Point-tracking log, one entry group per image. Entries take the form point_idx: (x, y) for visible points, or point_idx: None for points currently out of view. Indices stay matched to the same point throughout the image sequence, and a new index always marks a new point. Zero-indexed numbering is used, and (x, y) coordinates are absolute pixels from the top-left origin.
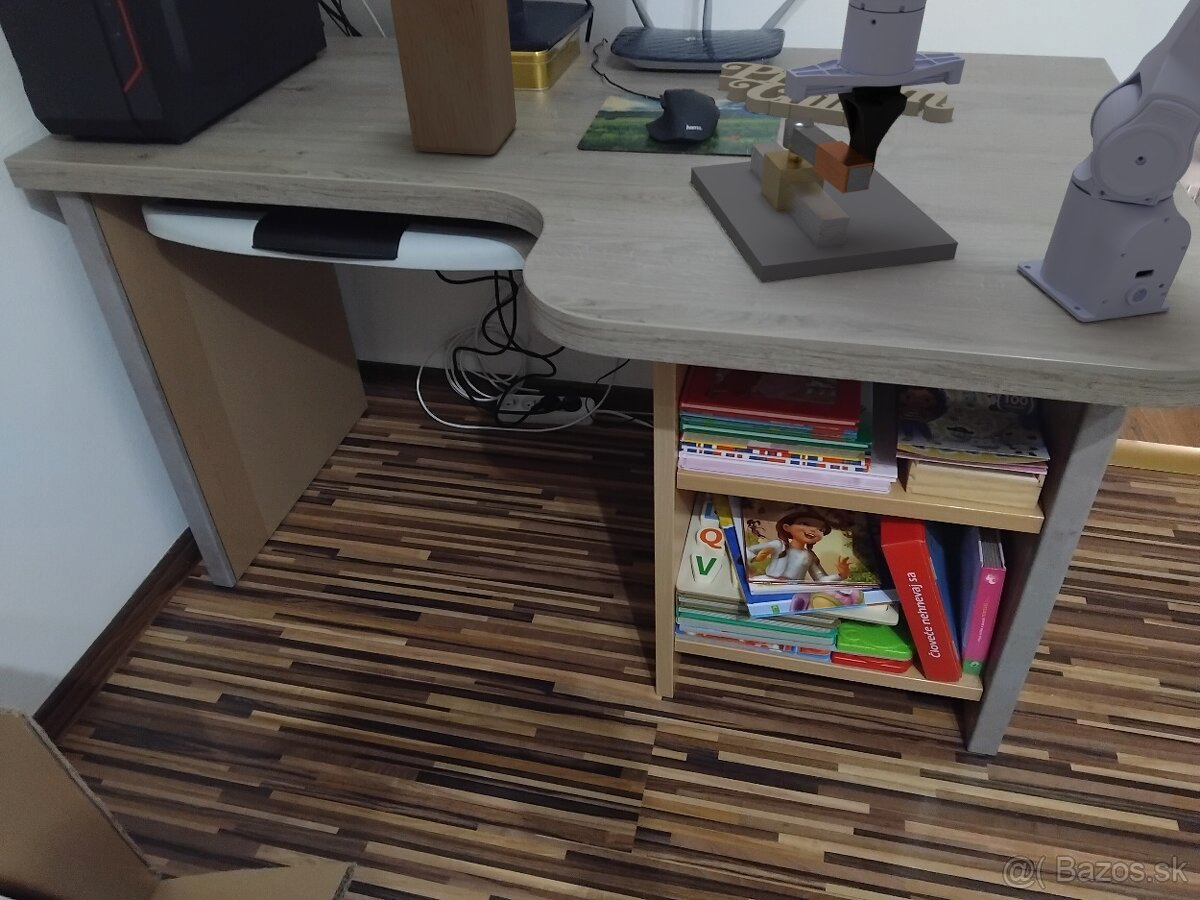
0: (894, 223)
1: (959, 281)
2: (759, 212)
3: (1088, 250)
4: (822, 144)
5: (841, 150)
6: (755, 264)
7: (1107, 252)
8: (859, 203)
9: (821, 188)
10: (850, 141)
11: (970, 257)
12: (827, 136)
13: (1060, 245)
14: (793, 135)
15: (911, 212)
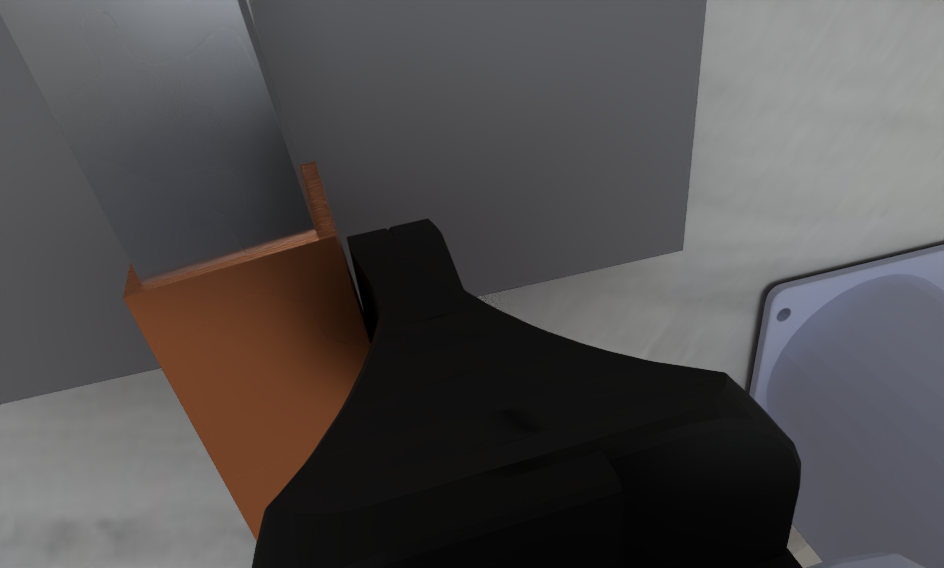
0: (553, 102)
1: (601, 342)
2: None
3: (852, 522)
4: (169, 298)
5: (290, 395)
6: None
7: None
8: None
9: (247, 4)
10: (379, 309)
11: (701, 219)
12: (244, 100)
13: (837, 458)
14: None
15: (660, 4)
